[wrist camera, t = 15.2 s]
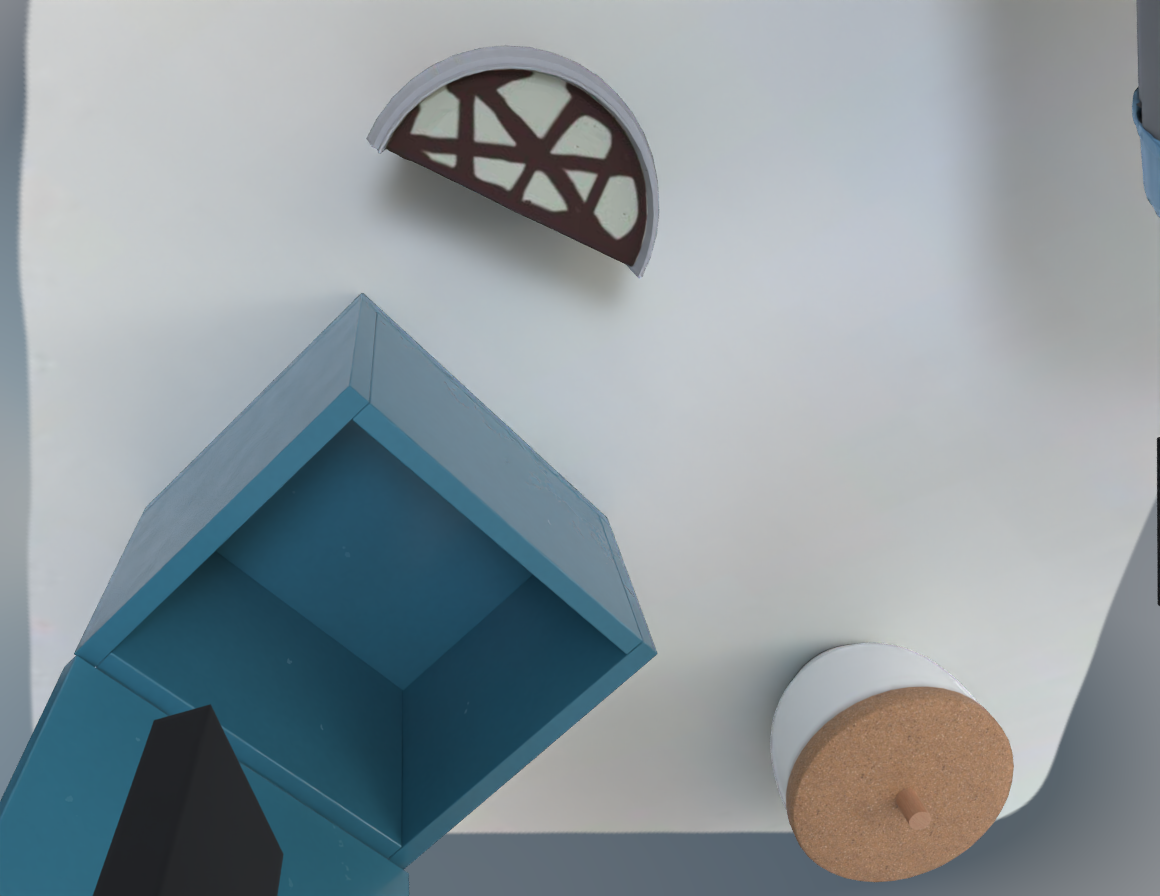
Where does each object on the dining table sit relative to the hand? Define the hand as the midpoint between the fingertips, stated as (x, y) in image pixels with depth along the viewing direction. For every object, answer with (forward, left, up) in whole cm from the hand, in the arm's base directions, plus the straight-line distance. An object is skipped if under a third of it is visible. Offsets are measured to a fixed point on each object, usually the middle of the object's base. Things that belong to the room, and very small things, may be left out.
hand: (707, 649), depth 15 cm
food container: (-2, -2, -40) cm, 40 cm away
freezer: (+10, +16, -40) cm, 44 cm away
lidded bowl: (-13, +36, -40) cm, 55 cm away
